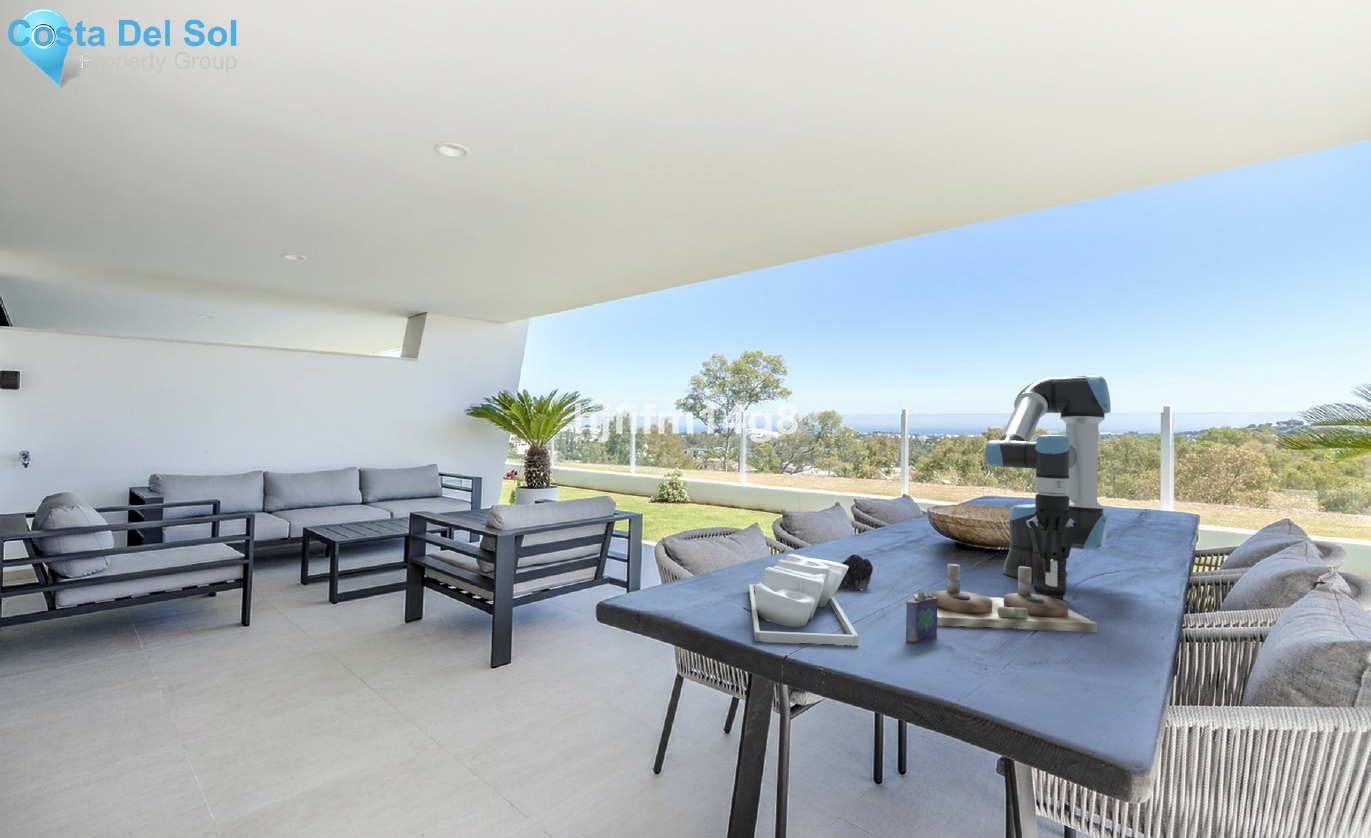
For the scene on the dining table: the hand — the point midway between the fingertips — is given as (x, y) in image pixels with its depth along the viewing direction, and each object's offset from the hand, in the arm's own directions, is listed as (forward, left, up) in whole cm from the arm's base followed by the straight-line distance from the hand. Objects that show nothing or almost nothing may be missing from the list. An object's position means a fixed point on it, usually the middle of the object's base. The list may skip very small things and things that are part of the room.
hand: (1051, 585), depth 157 cm
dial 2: (+7, +5, -5) cm, 10 cm away
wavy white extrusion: (+65, +7, -7) cm, 66 cm away
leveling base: (+16, +5, -7) cm, 18 cm away
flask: (+41, +25, -7) cm, 49 cm away
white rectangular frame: (+67, +11, -7) cm, 68 cm away
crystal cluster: (+48, -20, -7) cm, 52 cm away
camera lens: (-6, -14, -7) cm, 17 cm away
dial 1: (+25, +5, -5) cm, 26 cm away
